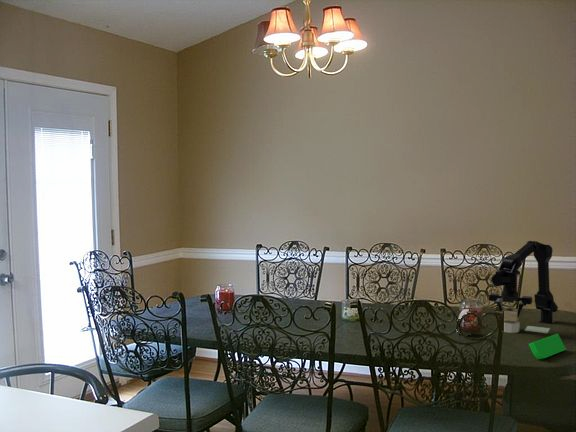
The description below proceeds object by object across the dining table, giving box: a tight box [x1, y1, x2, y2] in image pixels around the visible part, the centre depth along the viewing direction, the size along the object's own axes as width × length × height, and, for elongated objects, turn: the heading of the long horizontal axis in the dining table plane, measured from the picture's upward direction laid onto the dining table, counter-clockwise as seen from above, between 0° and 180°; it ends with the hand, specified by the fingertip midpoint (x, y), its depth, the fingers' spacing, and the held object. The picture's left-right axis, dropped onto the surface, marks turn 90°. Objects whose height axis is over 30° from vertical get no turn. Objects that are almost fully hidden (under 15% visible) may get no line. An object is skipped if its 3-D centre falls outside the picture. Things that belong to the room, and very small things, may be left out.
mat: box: [524, 325, 551, 334], centre depth 272 cm, size 10×10×1 cm
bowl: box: [504, 320, 520, 334], centre depth 271 cm, size 8×8×4 cm
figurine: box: [456, 308, 469, 333], centre depth 265 cm, size 7×8×12 cm
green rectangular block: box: [528, 333, 567, 360], centre depth 236 cm, size 20×10×7 cm, turn 128°
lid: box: [503, 307, 520, 321], centre depth 270 cm, size 7×7×5 cm
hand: (510, 316), depth 270 cm, fingers closed on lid, 7 cm apart
